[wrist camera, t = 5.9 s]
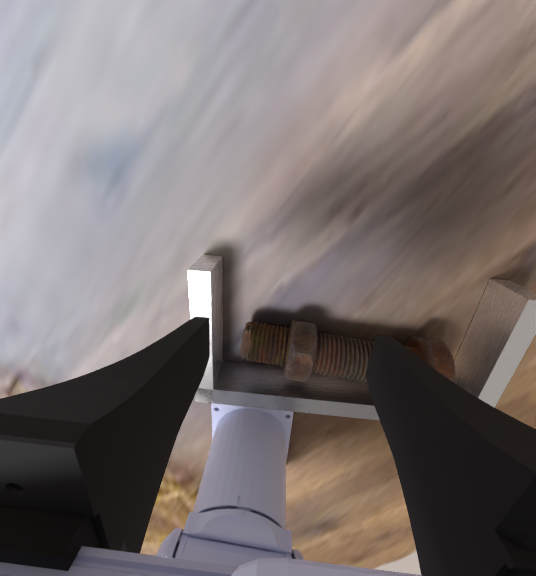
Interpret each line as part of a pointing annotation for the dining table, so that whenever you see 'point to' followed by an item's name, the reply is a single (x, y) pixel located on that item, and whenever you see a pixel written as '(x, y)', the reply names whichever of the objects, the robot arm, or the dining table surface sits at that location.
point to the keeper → (353, 393)
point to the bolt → (328, 351)
